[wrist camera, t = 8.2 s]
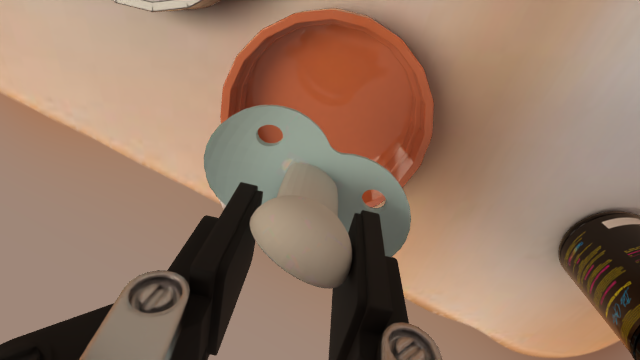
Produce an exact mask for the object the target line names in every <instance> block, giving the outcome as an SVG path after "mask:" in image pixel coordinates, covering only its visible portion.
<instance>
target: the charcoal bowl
mask: <svg viewBox="0 0 640 360" xmlns="http://www.w3.org/2000/svg"><path fill="white" fill-rule="evenodd" d="M112 1H114V2H116V3H118V4H122V5H126V6H131V7H135V8H139V9H143V10H147V11H151V12H162V11H178V10H187V9H196V8H205V7H209V6H211V5H213V4H215V3H217V2H219V1H221V0H112Z"/></svg>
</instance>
